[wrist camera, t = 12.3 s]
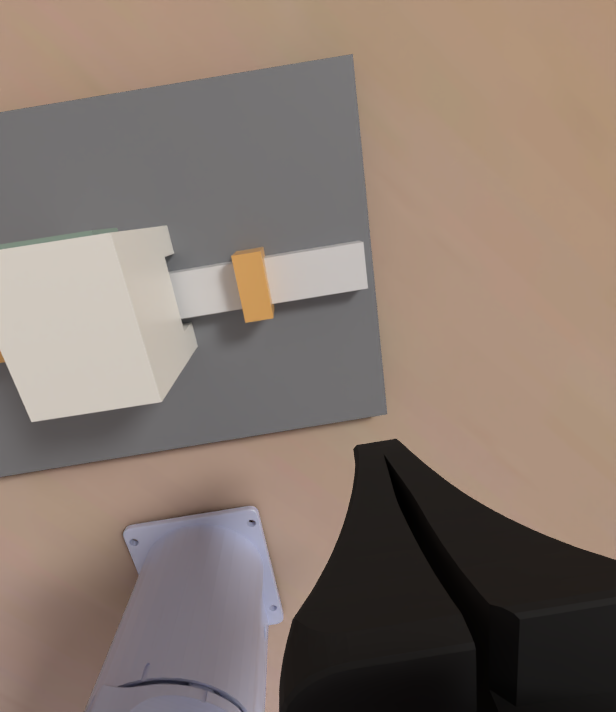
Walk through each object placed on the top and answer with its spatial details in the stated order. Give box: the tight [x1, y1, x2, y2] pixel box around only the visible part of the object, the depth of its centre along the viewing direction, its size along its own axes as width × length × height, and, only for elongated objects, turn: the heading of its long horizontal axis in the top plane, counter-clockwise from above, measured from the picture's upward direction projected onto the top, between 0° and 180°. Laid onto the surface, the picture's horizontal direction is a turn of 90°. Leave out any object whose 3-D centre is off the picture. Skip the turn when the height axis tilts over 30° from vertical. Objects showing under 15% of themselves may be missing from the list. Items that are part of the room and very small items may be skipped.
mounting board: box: [0, 54, 387, 477], centre depth 18 cm, size 16×22×3 cm
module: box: [0, 225, 198, 422], centre depth 16 cm, size 6×4×6 cm
